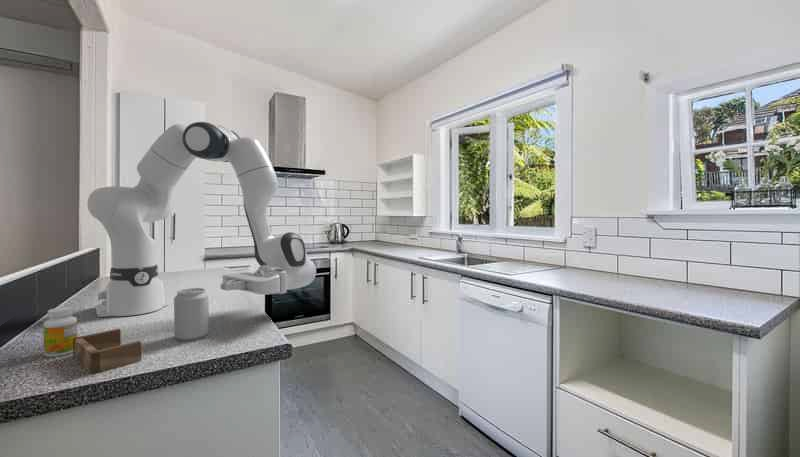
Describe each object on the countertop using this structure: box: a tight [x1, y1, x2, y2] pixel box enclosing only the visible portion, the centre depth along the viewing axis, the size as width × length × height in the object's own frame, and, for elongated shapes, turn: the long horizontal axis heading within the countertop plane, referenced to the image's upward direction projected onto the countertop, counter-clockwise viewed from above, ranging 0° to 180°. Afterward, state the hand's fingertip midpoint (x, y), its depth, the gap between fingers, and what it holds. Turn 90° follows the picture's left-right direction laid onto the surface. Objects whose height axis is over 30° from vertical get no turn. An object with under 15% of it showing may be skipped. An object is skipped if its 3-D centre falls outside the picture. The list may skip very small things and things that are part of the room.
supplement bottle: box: [43, 306, 79, 357], centre depth 77 cm, size 5×5×10 cm
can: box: [173, 287, 210, 342], centre depth 88 cm, size 8×8×12 cm
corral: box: [72, 328, 142, 375], centre depth 75 cm, size 14×8×4 cm, turn 54°
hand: (223, 286), depth 94 cm, fingers closed
